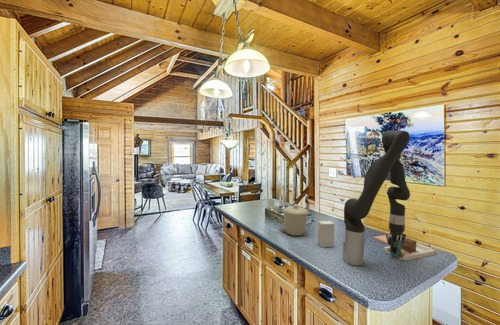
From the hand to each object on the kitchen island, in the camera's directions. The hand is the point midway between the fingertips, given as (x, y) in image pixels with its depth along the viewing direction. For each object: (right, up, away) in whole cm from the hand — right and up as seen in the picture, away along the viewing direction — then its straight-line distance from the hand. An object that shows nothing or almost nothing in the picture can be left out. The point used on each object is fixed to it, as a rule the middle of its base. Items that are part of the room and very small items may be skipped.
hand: (395, 252), depth 125 cm
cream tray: (+11, -2, +4) cm, 12 cm away
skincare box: (-36, -1, +12) cm, 38 cm away
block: (+10, 0, +4) cm, 11 cm away
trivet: (+8, -1, +22) cm, 24 cm away
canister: (-51, 0, +32) cm, 60 cm away
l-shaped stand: (+6, -2, +2) cm, 7 cm away
